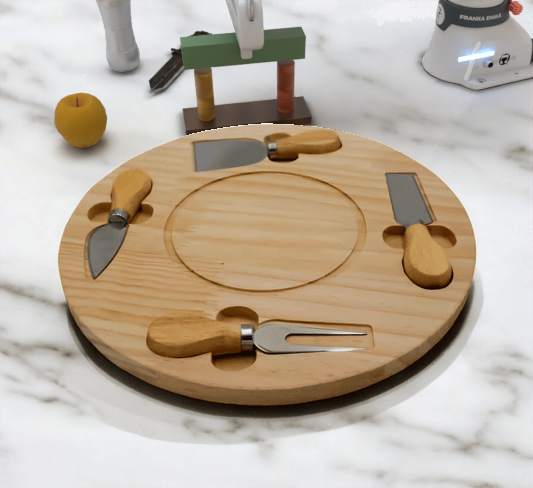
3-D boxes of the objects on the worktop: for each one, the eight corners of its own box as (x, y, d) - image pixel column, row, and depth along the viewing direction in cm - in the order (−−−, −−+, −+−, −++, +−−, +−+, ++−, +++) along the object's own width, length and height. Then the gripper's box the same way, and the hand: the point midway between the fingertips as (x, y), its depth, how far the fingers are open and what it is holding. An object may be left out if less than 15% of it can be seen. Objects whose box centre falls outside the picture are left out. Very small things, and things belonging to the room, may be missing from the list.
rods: (303, 103, 120) (304, 50, 112) (311, 124, 115) (313, 70, 107) (183, 115, 117) (177, 62, 110) (186, 137, 112) (180, 83, 105)
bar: (300, 48, 110) (301, 26, 107) (305, 58, 108) (306, 36, 105) (182, 59, 108) (179, 37, 105) (184, 70, 105) (181, 47, 102)
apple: (87, 164, 107) (75, 118, 101) (50, 148, 110) (36, 103, 104) (121, 138, 112) (112, 93, 106) (85, 124, 115) (74, 79, 109)
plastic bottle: (102, 72, 128) (81, -30, 115) (120, 56, 133) (102, -44, 119) (130, 78, 127) (112, -25, 113) (148, 62, 131) (132, -39, 117)
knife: (157, 98, 121) (156, 91, 120) (128, 90, 123) (127, 84, 122) (222, 40, 138) (221, 34, 137) (195, 34, 140) (194, 28, 139)
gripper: (274, -10, 90) (274, 79, 99) (251, -62, 104) (253, 20, 114) (228, -7, 89) (233, 83, 99) (212, -59, 104) (217, 24, 113)
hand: (243, 49), depth 106 cm, fingers closed on bar, 3 cm apart
